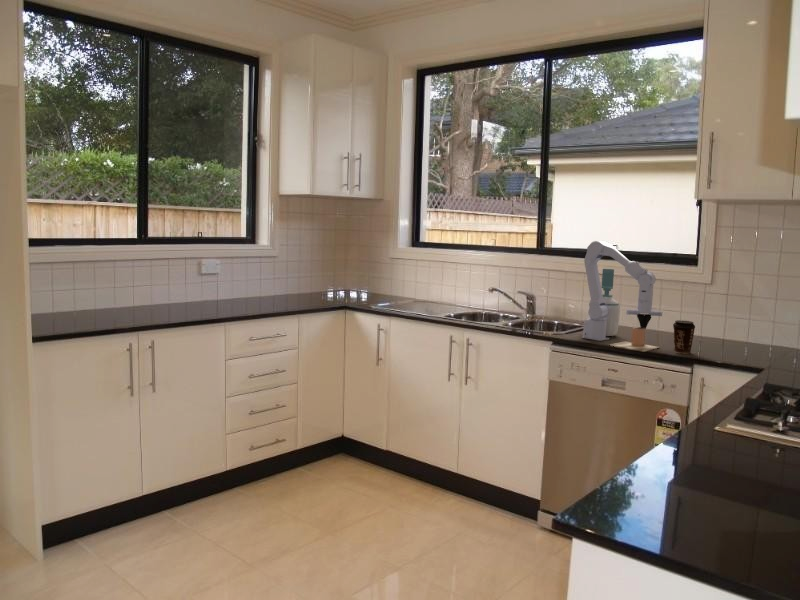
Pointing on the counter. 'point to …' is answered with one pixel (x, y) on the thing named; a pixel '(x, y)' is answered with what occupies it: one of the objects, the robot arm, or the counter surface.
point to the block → (638, 336)
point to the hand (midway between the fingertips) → (642, 331)
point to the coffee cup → (683, 336)
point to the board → (632, 347)
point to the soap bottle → (610, 303)
